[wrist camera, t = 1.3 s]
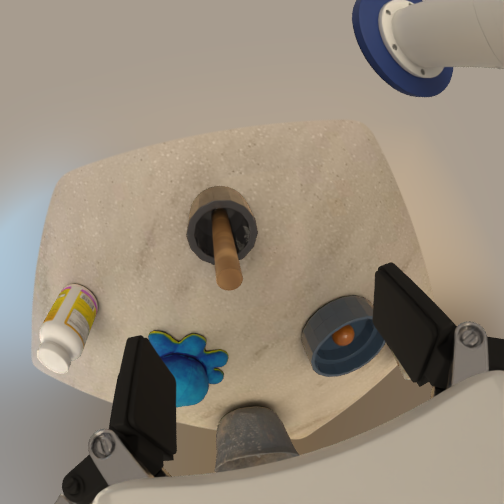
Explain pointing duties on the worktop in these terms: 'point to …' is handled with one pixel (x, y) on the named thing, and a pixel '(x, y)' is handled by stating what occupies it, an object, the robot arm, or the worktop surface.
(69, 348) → the supplement bottle
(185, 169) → the worktop surface
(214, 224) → the stick
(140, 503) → the robot arm
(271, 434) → the grey bucket
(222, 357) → the plush toy
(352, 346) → the mixing bowl
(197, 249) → the holder
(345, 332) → the bead
